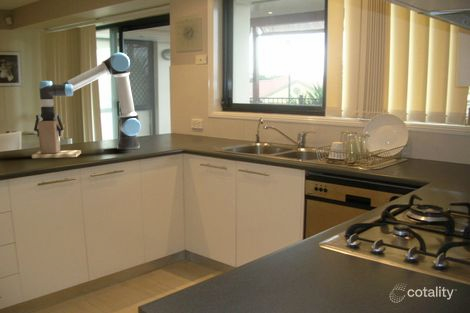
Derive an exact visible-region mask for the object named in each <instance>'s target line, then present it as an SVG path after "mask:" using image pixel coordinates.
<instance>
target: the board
mask: <svg viewBox="0 0 470 313" xmlns="http://www.w3.org/2000/svg"><path fill="white" fill-rule="evenodd" d="M80 154H82V150H79V149H78V150H76V149H75V150H74V149H73V150H60V151H59V152H57V153H51V154H41V153H40V150H39V151H37V152H35V153H33V154H31V158H32V159H54V158H56V159H57V158H58V159H59V158H77V157H78V156H80Z"/></svg>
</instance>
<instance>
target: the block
mask: <svg viewBox="0 0 470 313" xmlns="http://www.w3.org/2000/svg"><path fill="white" fill-rule="evenodd" d="M57 125H58V126H59V123H58V120H57V119H54V121H42V120H39V122H38V127H37V129H38V130H39V137H38V140H39V151H40V153H41V154H51V153H57V152H59V151H61V141H60V142H58V138H57V131H58V130H57Z"/></svg>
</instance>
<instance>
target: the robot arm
mask: <svg viewBox="0 0 470 313" xmlns="http://www.w3.org/2000/svg"><path fill="white" fill-rule="evenodd" d="M130 65H131V61H130V58H129V56H127V54H125V53H123V52H115V53H113V54H112V55H110V56H109V57H108V58H107V59H104V60H103V61H102V62H101V63H100V64H98V65H96V66H95V67H93V68H91V69H89V70H86V71H85V72H82V73H80V74H79V75H78V74H77V76H74V77H73V78H71V79H69V80H67V81H64V82H63V83H60V84H59V83H58V84H57V83H56V84H54V83H53V81H51V80H41V81H39V84H38V85H39V87H38V88H39V97H40V98H39V100H40V102H39V103H40V106H41V107H40V111H41V112H40V114H36V115H35V118H36V119H35V123H34V129H33V131H34V132H37V133H36V134H37V138H39V130H38V122H40V118H41V119H42V120H41V121H54V120H55V118H56V120H57V121H58V125H57V130H58V131H57V138H58V142H60V143H61V140H60V139H61V137H62V131H64V129H65V128H64V125H63V123H62V120H61V115H60V114H55V107H54V97H73V96H74V92H75V91H77V90H79V89H81V88H83V87H85V86H87V85H88V84H91V83H93V82H94V81H97V80H99V79H100V78H103V77H105V76H106V75H108V76H110V75H111V76H112V77H114V78H115V83H116V89H117V94H118V100H119V106H120V112H121V114H120V115H119V116H118V132H119V135H118V136H119V137H118V141H117V145H116V148H117V150H122V151H128V150H129V151H130V150H138V149H140V143H139V140H138V137H137V135H138V134H139V133H140V132H141V129H142V125H141V123H140V121H139V120H140V119H139V114H138V113H137V112H136V110H135V104H134V100H133V93H132V89H131V88H132V87H131V82H130V81H131V80H130V77H129V76H130V74H131V68H130Z"/></svg>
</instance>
